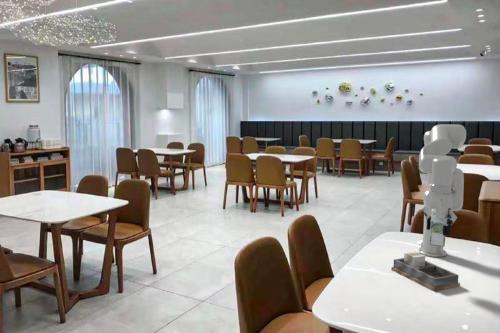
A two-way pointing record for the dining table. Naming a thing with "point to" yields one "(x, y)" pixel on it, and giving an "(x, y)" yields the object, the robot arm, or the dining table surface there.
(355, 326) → the dining table surface
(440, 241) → the syrup box
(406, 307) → the dining table surface
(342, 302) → the dining table surface
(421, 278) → the divided tray
